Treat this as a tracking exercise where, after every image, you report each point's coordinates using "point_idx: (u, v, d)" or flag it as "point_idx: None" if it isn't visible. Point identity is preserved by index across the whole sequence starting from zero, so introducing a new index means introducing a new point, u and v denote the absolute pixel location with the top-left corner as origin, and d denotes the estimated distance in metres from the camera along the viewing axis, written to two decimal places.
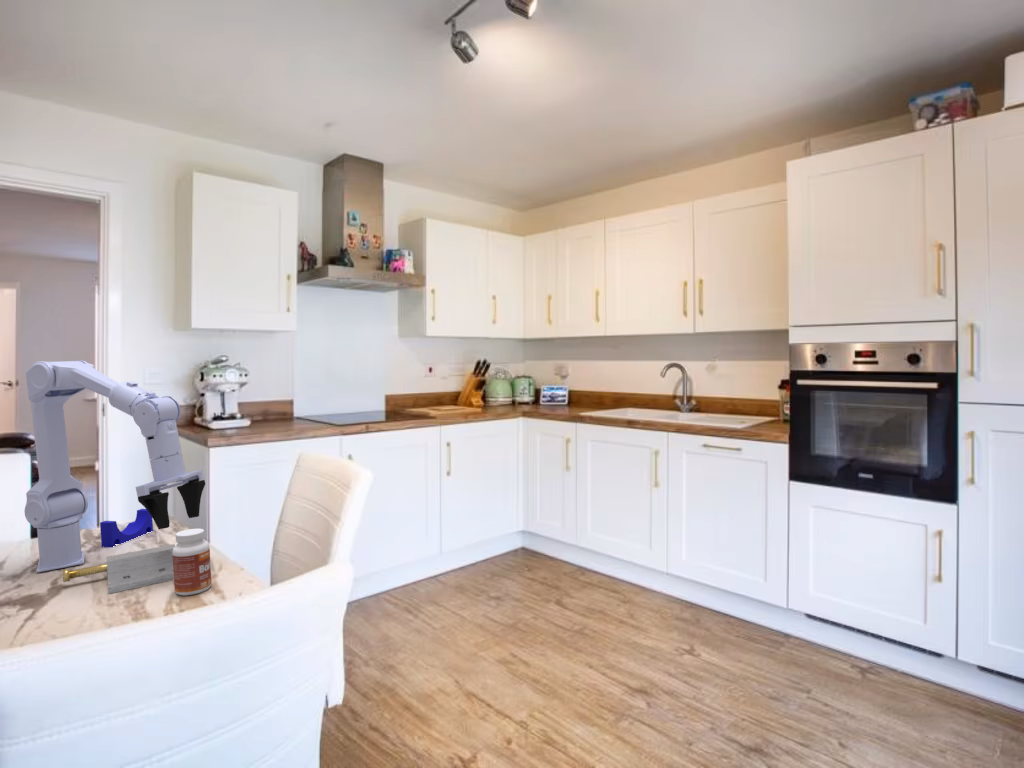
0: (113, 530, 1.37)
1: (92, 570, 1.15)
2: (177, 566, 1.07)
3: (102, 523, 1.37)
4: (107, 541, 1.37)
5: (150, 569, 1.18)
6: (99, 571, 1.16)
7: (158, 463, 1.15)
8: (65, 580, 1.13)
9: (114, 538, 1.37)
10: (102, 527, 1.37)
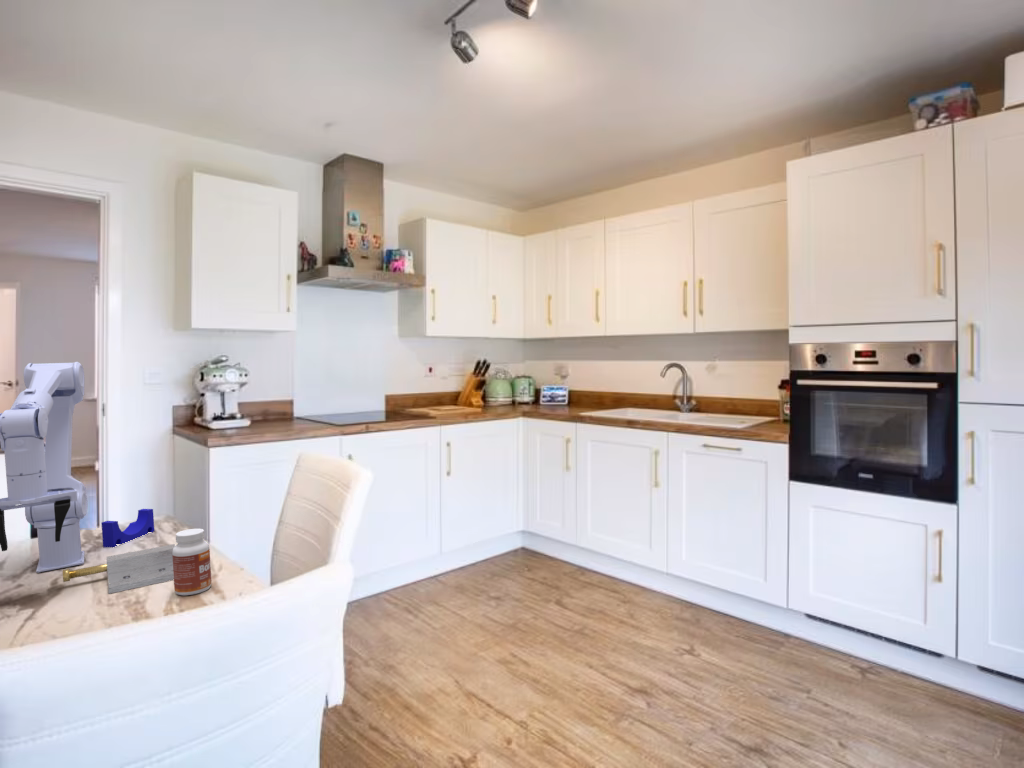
0: (114, 530, 1.37)
1: (92, 570, 1.15)
2: (177, 566, 1.07)
3: (103, 523, 1.37)
4: (108, 541, 1.37)
5: (150, 569, 1.18)
6: (99, 571, 1.16)
7: (7, 481, 1.07)
8: (65, 580, 1.13)
9: (115, 538, 1.37)
10: (103, 527, 1.37)
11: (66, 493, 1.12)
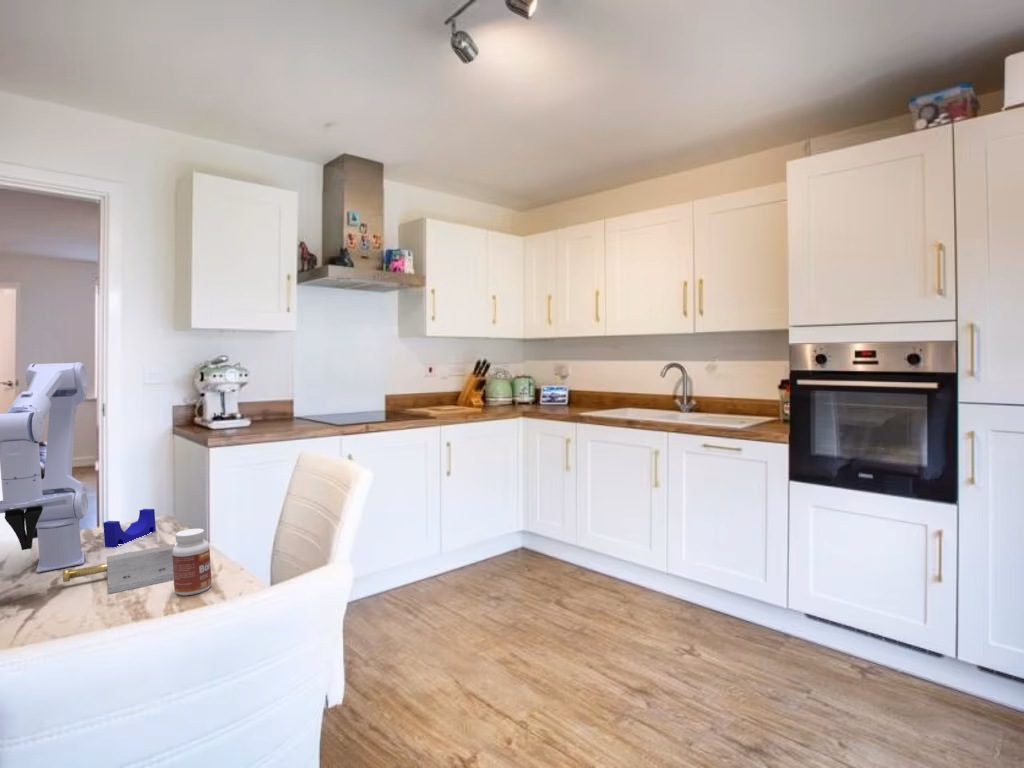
0: (116, 530, 1.37)
1: (92, 570, 1.15)
2: (177, 566, 1.07)
3: (105, 523, 1.37)
4: (110, 541, 1.37)
5: (150, 569, 1.18)
6: (99, 571, 1.16)
7: (2, 484, 1.07)
8: (65, 580, 1.13)
9: (117, 538, 1.37)
10: (105, 527, 1.37)
11: (61, 497, 1.12)
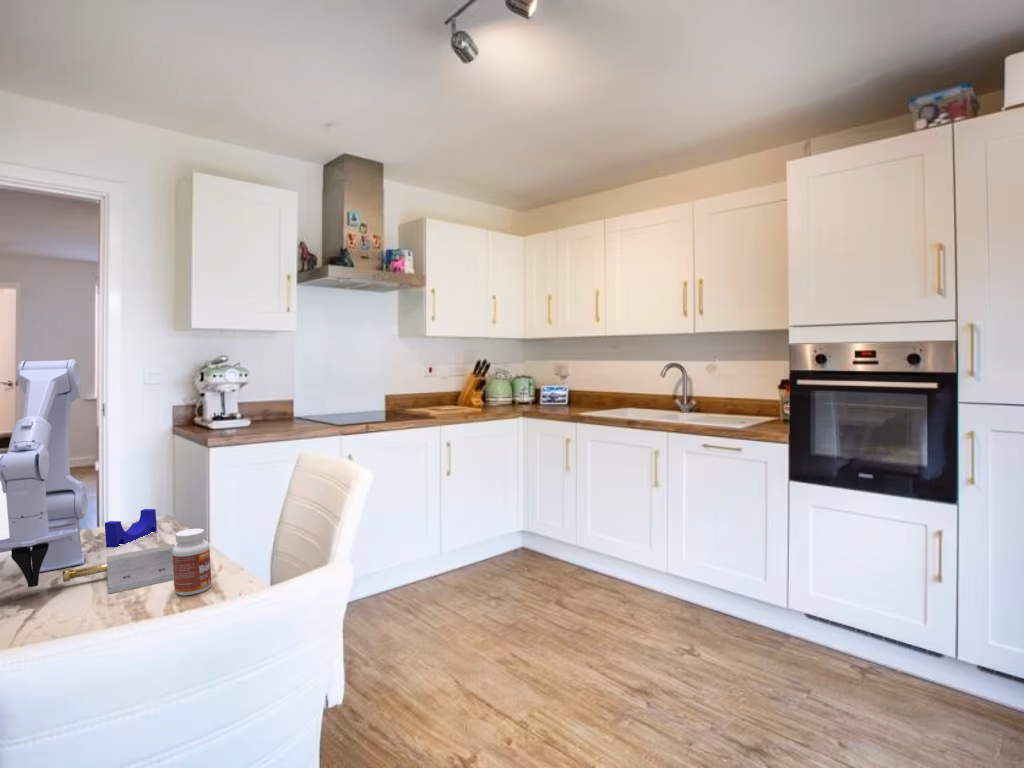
0: (118, 530, 1.37)
1: (92, 570, 1.15)
2: (177, 566, 1.07)
3: (107, 523, 1.37)
4: (112, 542, 1.37)
5: (150, 569, 1.18)
6: (99, 571, 1.16)
7: (8, 523, 1.08)
8: (65, 580, 1.13)
9: (119, 538, 1.37)
10: (107, 527, 1.37)
11: (67, 533, 1.12)
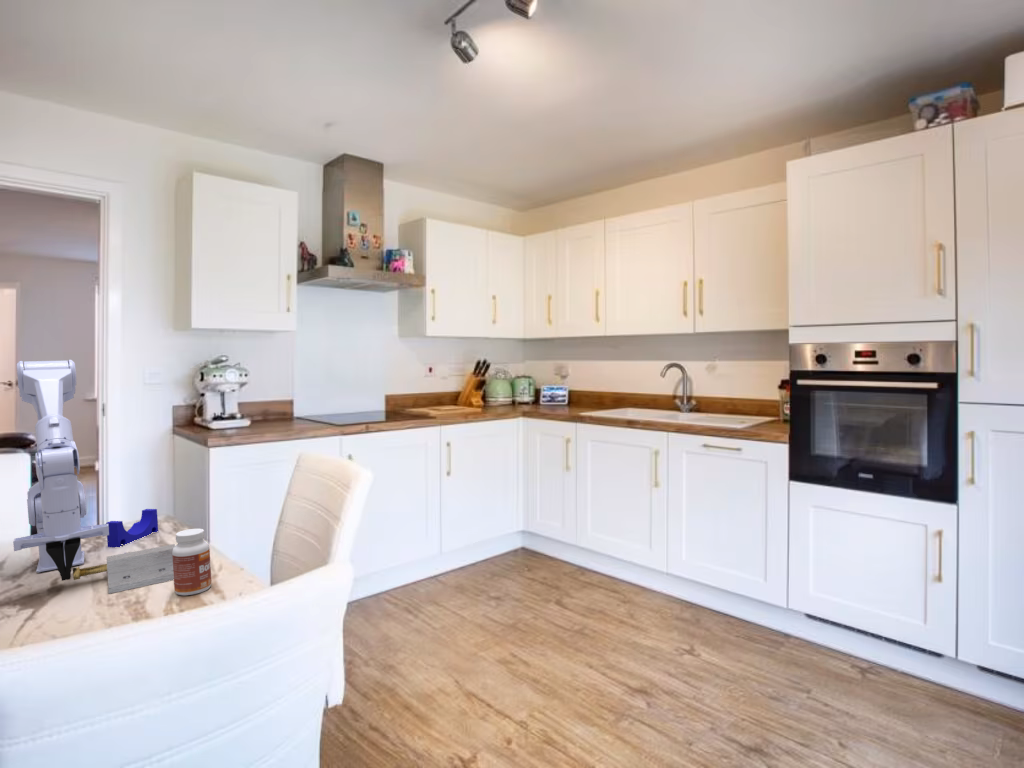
0: (119, 530, 1.37)
1: (102, 569, 1.16)
2: (177, 566, 1.07)
3: (108, 523, 1.37)
4: (113, 541, 1.37)
5: (150, 569, 1.18)
6: None
7: (43, 518, 1.11)
8: (75, 578, 1.14)
9: (120, 538, 1.37)
10: None
11: (98, 528, 1.15)
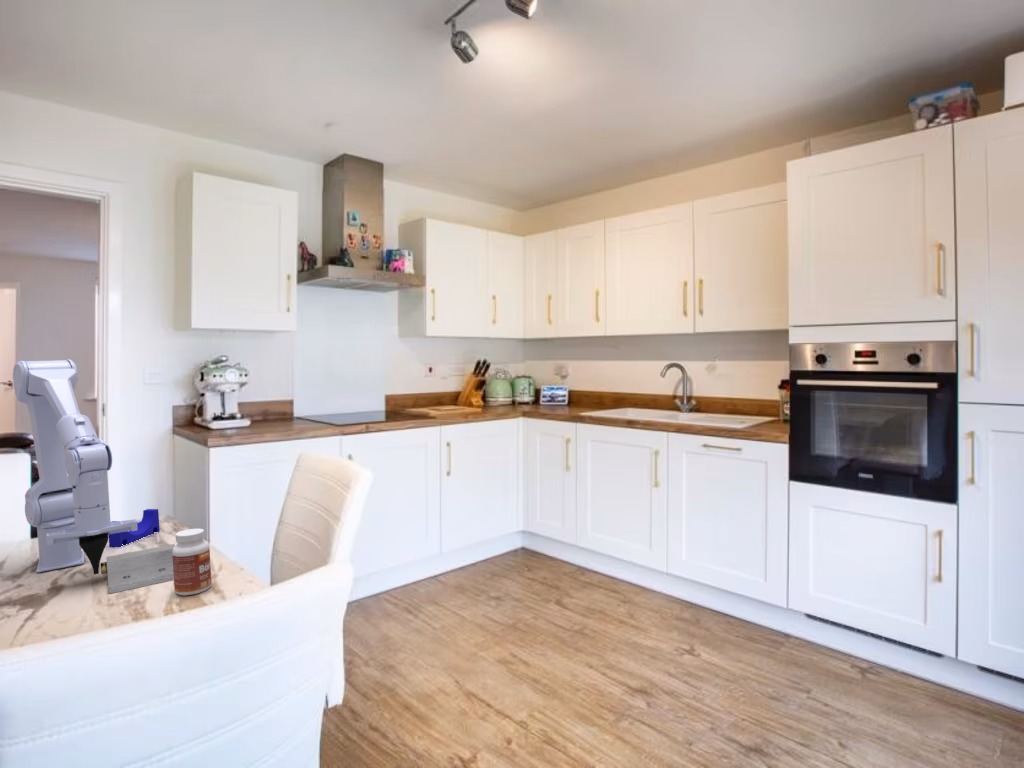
0: None
1: None
2: (177, 566, 1.07)
3: None
4: (115, 542, 1.37)
5: (150, 569, 1.18)
6: None
7: (74, 513, 1.13)
8: (103, 572, 1.16)
9: (122, 538, 1.37)
10: None
11: (127, 523, 1.18)
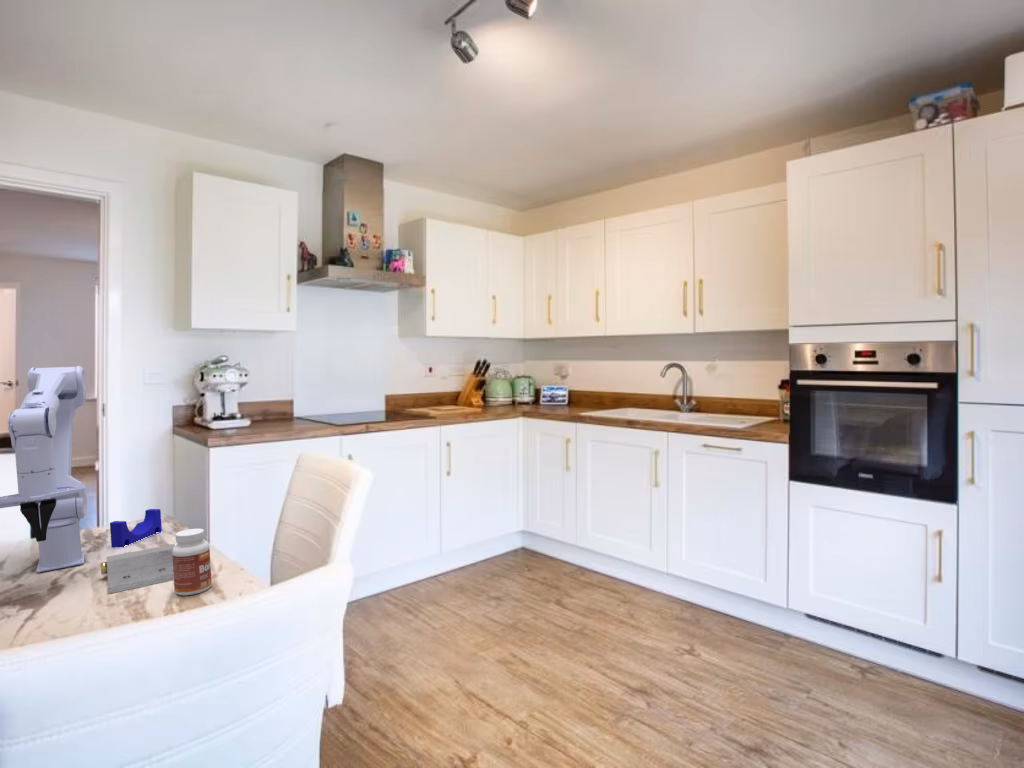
0: (123, 530, 1.37)
1: None
2: (177, 566, 1.07)
3: (112, 523, 1.37)
4: (117, 542, 1.37)
5: (150, 569, 1.18)
6: None
7: (17, 478, 1.10)
8: (103, 572, 1.16)
9: (124, 538, 1.37)
10: (112, 527, 1.37)
11: (74, 490, 1.15)
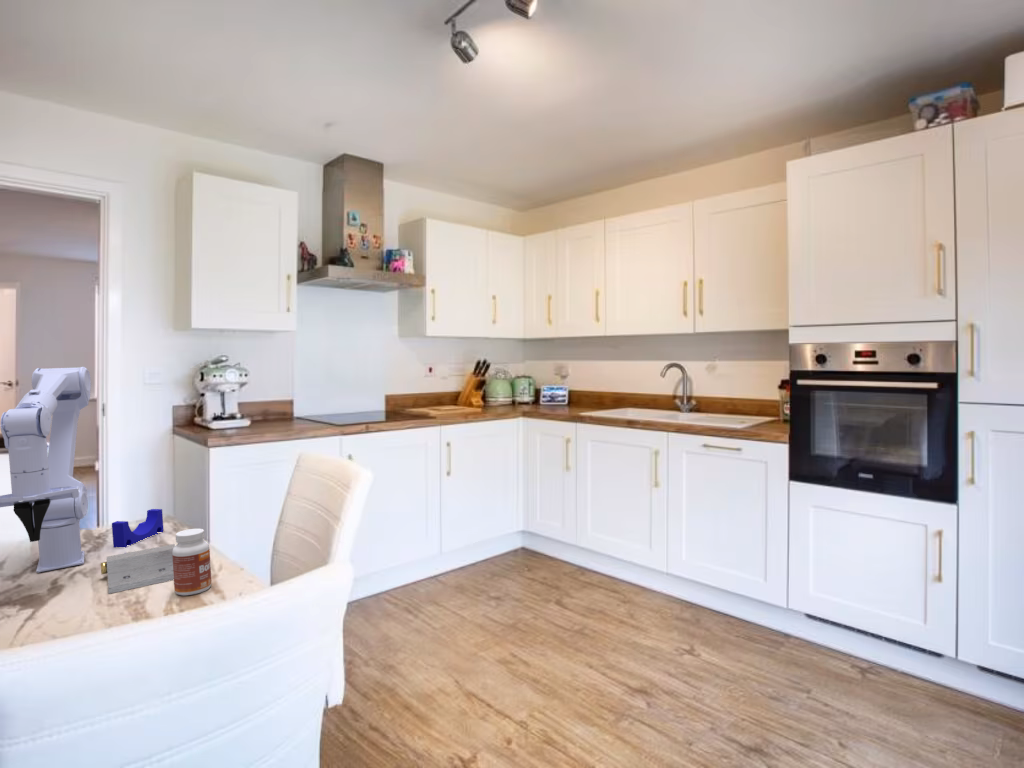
0: (125, 530, 1.37)
1: None
2: (177, 566, 1.07)
3: (114, 523, 1.36)
4: (119, 542, 1.36)
5: (150, 569, 1.18)
6: None
7: (11, 478, 1.10)
8: (103, 572, 1.16)
9: (126, 538, 1.37)
10: (114, 527, 1.36)
11: (68, 490, 1.15)
